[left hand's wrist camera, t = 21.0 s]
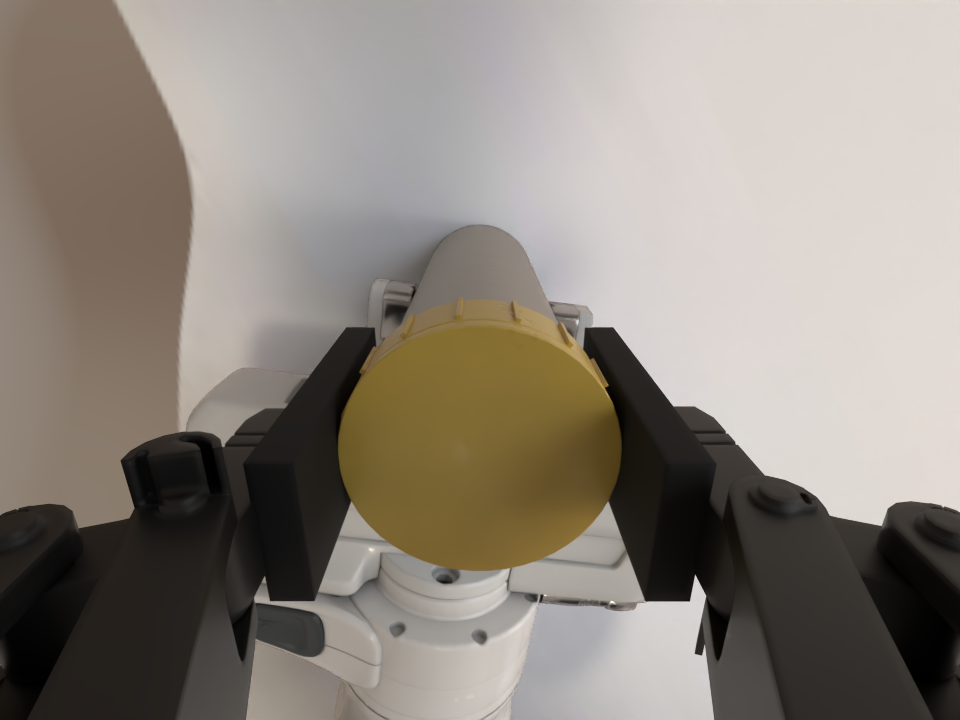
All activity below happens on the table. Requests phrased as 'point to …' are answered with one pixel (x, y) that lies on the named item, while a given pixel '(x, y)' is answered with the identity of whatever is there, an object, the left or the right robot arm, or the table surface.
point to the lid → (479, 437)
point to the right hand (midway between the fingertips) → (481, 295)
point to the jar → (479, 272)
